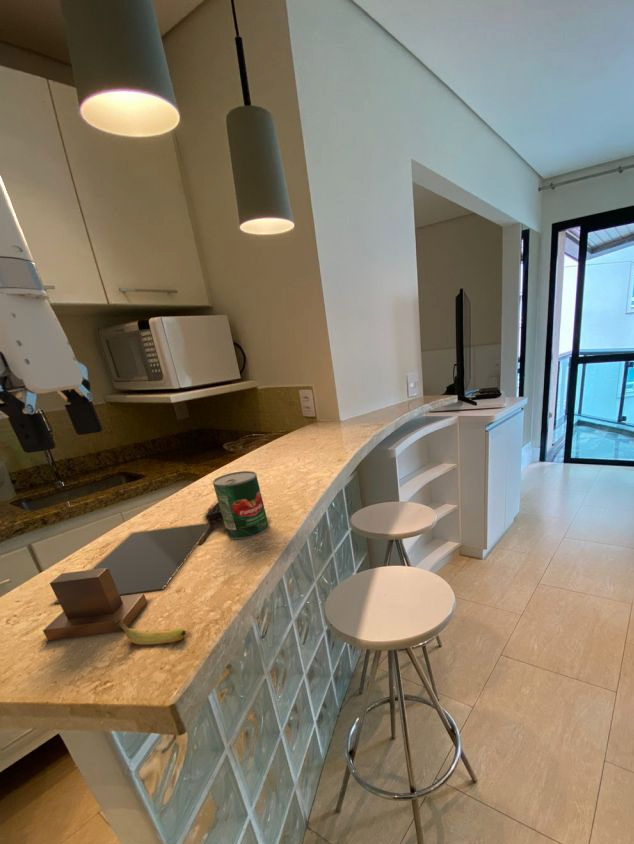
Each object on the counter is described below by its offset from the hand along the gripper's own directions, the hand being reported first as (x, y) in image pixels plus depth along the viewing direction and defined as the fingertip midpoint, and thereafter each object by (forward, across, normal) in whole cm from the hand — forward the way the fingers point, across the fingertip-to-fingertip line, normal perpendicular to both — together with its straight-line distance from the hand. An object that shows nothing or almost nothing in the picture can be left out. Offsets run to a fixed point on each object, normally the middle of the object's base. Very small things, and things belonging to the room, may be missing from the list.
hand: (67, 441), depth 50 cm
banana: (+24, +11, +7) cm, 28 cm away
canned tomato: (+24, -21, +12) cm, 34 cm away
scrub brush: (+24, +5, -3) cm, 25 cm away
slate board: (+24, -13, -4) cm, 28 cm away
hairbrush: (+24, -37, +4) cm, 45 cm away
